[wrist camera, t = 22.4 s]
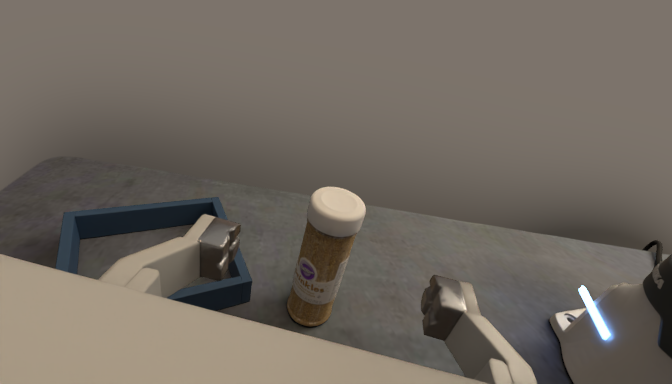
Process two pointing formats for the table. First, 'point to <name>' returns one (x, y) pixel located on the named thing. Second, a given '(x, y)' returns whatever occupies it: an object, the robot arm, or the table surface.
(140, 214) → the square frame
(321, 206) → the sprinkles bottle
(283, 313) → the table surface
